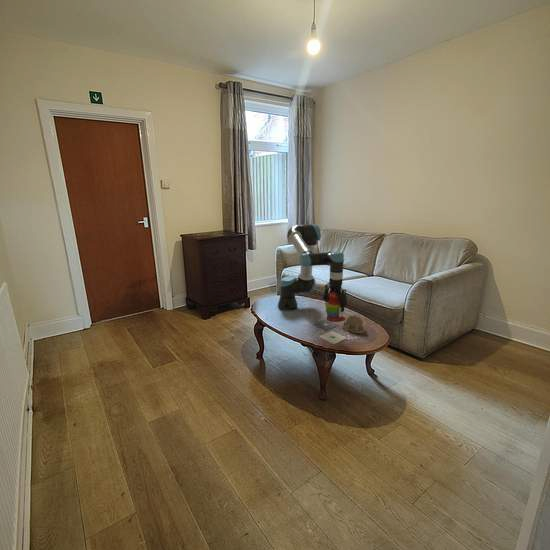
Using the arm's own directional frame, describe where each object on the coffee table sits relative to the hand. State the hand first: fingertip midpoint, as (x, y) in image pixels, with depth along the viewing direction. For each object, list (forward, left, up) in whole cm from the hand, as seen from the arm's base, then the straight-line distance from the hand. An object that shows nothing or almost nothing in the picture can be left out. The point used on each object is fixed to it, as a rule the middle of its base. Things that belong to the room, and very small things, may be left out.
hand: (334, 313), depth 189 cm
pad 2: (0, 0, -16) cm, 16 cm away
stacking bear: (0, 0, -4) cm, 4 cm away
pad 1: (-15, +11, -16) cm, 24 cm away
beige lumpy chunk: (+1, +20, -16) cm, 25 cm away
